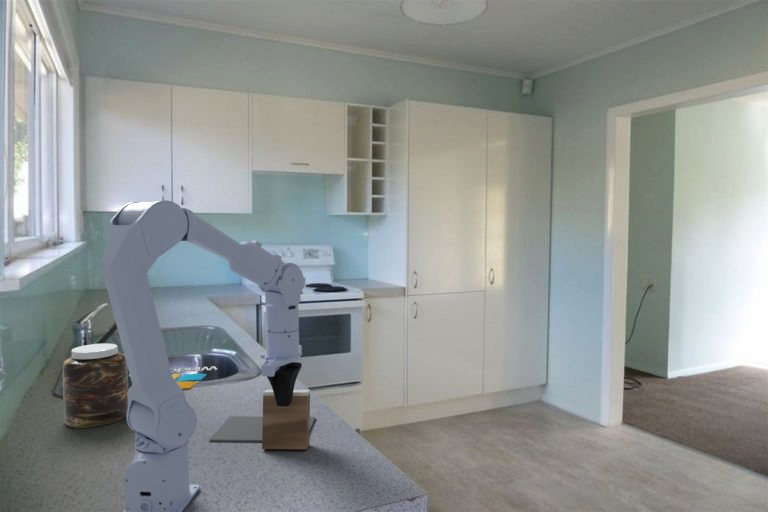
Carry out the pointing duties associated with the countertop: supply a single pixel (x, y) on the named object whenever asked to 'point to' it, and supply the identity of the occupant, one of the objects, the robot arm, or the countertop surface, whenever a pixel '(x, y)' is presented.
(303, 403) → the wooden block
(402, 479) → the countertop surface
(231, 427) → the mat
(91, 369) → the jar
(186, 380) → the logo
